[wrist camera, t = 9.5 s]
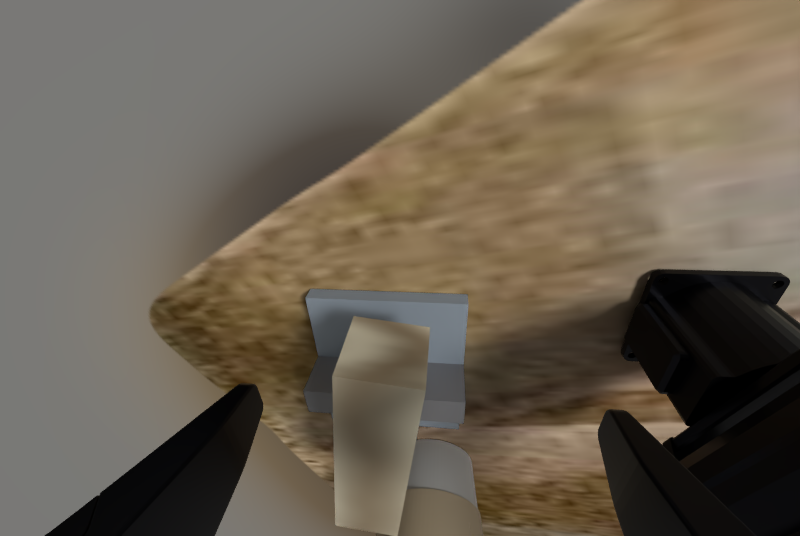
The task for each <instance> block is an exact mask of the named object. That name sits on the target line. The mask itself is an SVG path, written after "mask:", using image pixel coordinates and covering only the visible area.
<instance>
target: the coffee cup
mask: <svg viewBox="0 0 800 536" xmlns="http://www.w3.org/2000/svg"><path fill="white" fill-rule="evenodd" d="M376 536H391V535H386V534H380V533H376ZM398 536H483V530H482V522H481V515H480V512H479V510H478V508H477V500H476V492H475V484H474V476H473V468H472V461H471V458H470V457H469V455H468V454H467V453H466V452H465V451H464V450H463V449H461V448H460V447H458V446H456V445H454V444H452V443H449V442H446V441H441V440H435V439H419V440H416V444H415V449H414V454H413V459H412V464H411V470H410V475H409V480H408V485H407V490H406V495H405V500H404V506H403V511H402V516H401V521H400V526H399V531H398Z"/></svg>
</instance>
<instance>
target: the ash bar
mask: <svg viewBox="0 0 800 536" xmlns="http://www.w3.org/2000/svg"><path fill="white" fill-rule="evenodd" d="M429 336H430V327H425V326H418V325H411V324H405V323H398V322H391V321H384V320H377V319H371V318H364V317H357V316H354V317H353V319H352V322H351V325H350V328H349V331H348V333H347V336H346V339H345V342H344V345H343V347H342V350H341V353H340V356H339V359H338V361H337V364H336V367H335V370H334V373H333V375H332V388H333V438H334V488H335V525H336V526H341V527H347V528H352V529H358V530H363V531H369V532H375V533H380V534H386V535H391V536H398V531H399V526H400V521H401V516H402V511H403V506H404V500H405V495H406V490H407V485H408V480H409V475H410V470H411V464H412V459H413V454H414V449H415V444H416V439H417V434H418V428H419V423H420V418H421V413H422V408H423V403H424V398H425V392H426V381H427V366H428V351H429Z"/></svg>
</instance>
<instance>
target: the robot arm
mask: <svg viewBox="0 0 800 536" xmlns="http://www.w3.org/2000/svg"><path fill="white" fill-rule="evenodd" d="M664 277H665V278H664ZM661 278H664V279H663V280H661V281H659V279H661ZM776 281H777V282H776ZM774 282H776V283H774ZM773 283H774V284H773ZM789 283H790V280H789V278H787V277H786V276H784V275H783V274H781V273H778V272H741V271H702V270H658V271H655V272H654V273H652V274H651V276H650V278H649V280H648V283H647V286H646V288H645V291H644V293H643V296H642V298H641V301H640V303H639V305H638V306H637V307H636V309H635V312H634V314H633V317H632V319H631V322H630V325H629V327H628V330H627V332H626V335H625V342H624V344H623V347H622V349H621V353H622V355H623V357H624V359H625V360H627V361H639V363H640V365H641V366H642V368H643V369H644V371H645V373H646V374H647V376H648V378H649V379H650V381H651V383H652V384H653V386H654V388H655V389H656V390H657V391H658V392H659V393H660V394H667V396H668V397H669V399H670V401H671V402H672V404H673V405H674V407H675V409H676V410H677V412H678V413H679V415H680V416H681V418H682V420H683V421H684V423H685V424H686V425H687V426H690V427H689V428H687V429H686V430H684V431H683V432H681V433H680V434H679V435H677V436H676V437H674V438H673V437H671V438H669V439H668V440H666V441H665V442H664V443H663V445H662V444H661V443H660V442H659V441H658V440H657V439H655V438H654V437H653V436H652V435H651V434H650V433H649V432H648V431H647V430H646V429H645V428H644V427H643V426H642V425H641V424H640V423H639V422H638V421H637V420H636V419H635V418H634V417H633V416H632V415H631V414H629V413H628V412H626V411H624V410H613V409H609V410H607V411H606V412H605V415H604V417H603V419H602V422H601V424H600V427H599V429H598V440H599V444H600V448H601V453H602V457H603V461H604V466H605V470H606V474H607V479H608V483H609V487H610V492H611V496H612V500H613V504H614V507H615V510H616V514H617V517H618V520H619V523H620V526H621V529H622V531H623V534H624V536H800V323H799V322H798V321H796V320H795V319H794V318H792V317H791V316H790V315H789V314H787V313H786V312H785V311H784V310H782V309H781V308H780V307H778V306H777V305H776V304H777V303H778V301H779V300H780V298H781V296H782V295H783V293H784V292H785V290H786V289H787V287H788V286H789ZM631 352H632V353H631ZM262 412H263V402H262V399H261V396H260V394H259V391H258V388H257V386H256V385H255V384H248V383H241V384H239V385H237V386H236V387H234V388H233V389H232V390H231V391H229V392H228V393H227V394H226V395H224V396H223V397H222V398H220V399H219V400H218V401H217V402H216V403H214V404H213V405H212V406H210V407H209V408H208V409H206V410H205V411H204V412H203V413H201V414H200V415H199V416H198V417H196V418H195V419H194V420H193V421H191V422H190V423H189V424H187V425H186V426H185V427H184V428H182V429H181V430H180V431H179V432H177V433H176V434H175V435H174V436H172V437H171V438H170V439H168V440H167V441H166V442H165V443H163V444H162V445H161V446H159V447H158V448H157V449H156V450H154V451H153V452H152V453H151V454H149V455H148V456H147V457H146V458H144V459H143V460H142V461H140V462H139V463H138V464H137V465H136V466H134V467H133V468H132V469H130V470H129V471H128V472H126V473H125V474H124V475H123V476H121V477H120V478H119V479H118V480H116V481H115V482H114V483H113V484H111V485H110V486H109V487H107V488H106V489H105V490H104V491H102V492H101V493H100V496H96V497H95V498H93V499H92V500H91V501H89V502H88V503H87V504H86V505H84V506H83V507H82V508H81V509H79V510H78V511H77V512H75V513H74V514H73V515H71V516H70V517H69V518H67V519H66V520H65V521H64V522H62V523H61V524H60V525H58V526H57V527H56V528H54V529H53V530H52V531H51V532H49V533H48V534H46V535H45V536H215V534H216V532H217V529H218V527H219V525H220V522H221V520H222V518H223V515H224V513H225V511H226V508H227V506H228V504H229V502H230V499H231V497H232V495H233V493H234V490H235V488H236V486H237V483H238V481H239V479H240V476H241V474H242V472H243V469H244V467H245V464H246V461H247V458H248V454H249V452H250V449H251V446H252V443H253V440H254V436H255V433H256V430H257V427H258V424H259V421H260V418H261V415H262Z"/></svg>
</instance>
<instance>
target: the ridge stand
mask: <svg viewBox="0 0 800 536" xmlns="http://www.w3.org/2000/svg"><path fill="white" fill-rule="evenodd" d="M305 299H306V303H307V308H308V312H309V317H310V321H311V326H312V330H313V335H314V339H315V343H316V348H317V352H318V358H317V360H316V362H315V365H314V367H313V370H312V372H311V374H310V377H309V379H308V381H307V384H306V386H305V388H304V391H303V392H304V395H305V399H306V403H307V406H308V410H309V412H321V413H331V415H332V419H333V388H332V375H333V373H334V370H335V367H336V364H337V361H338V359H339V356H340V353H341V350H342V347H343V345H344V342H345V339H346V336H347V333H348V331H349V328H350V325H351V322H352V319H353V317H354V316H357V317H364V318H371V319H377V320H384V321H391V322H398V323H405V324H411V325H418V326H425V327H430V336H429V351H428V366H427V381H426V392H425V398H424V403H423V408H422V413H421V418H420V423H419V426H424V427H436V428H449V429H459V423H460V424H464V415H465V403H466V402H465V381H464V354H465V341H466V328H467V315H468V294H442V293H414V292H385V291H357V290H329V289H310V291H309V293H308V294H307V296H306V298H305Z"/></svg>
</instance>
